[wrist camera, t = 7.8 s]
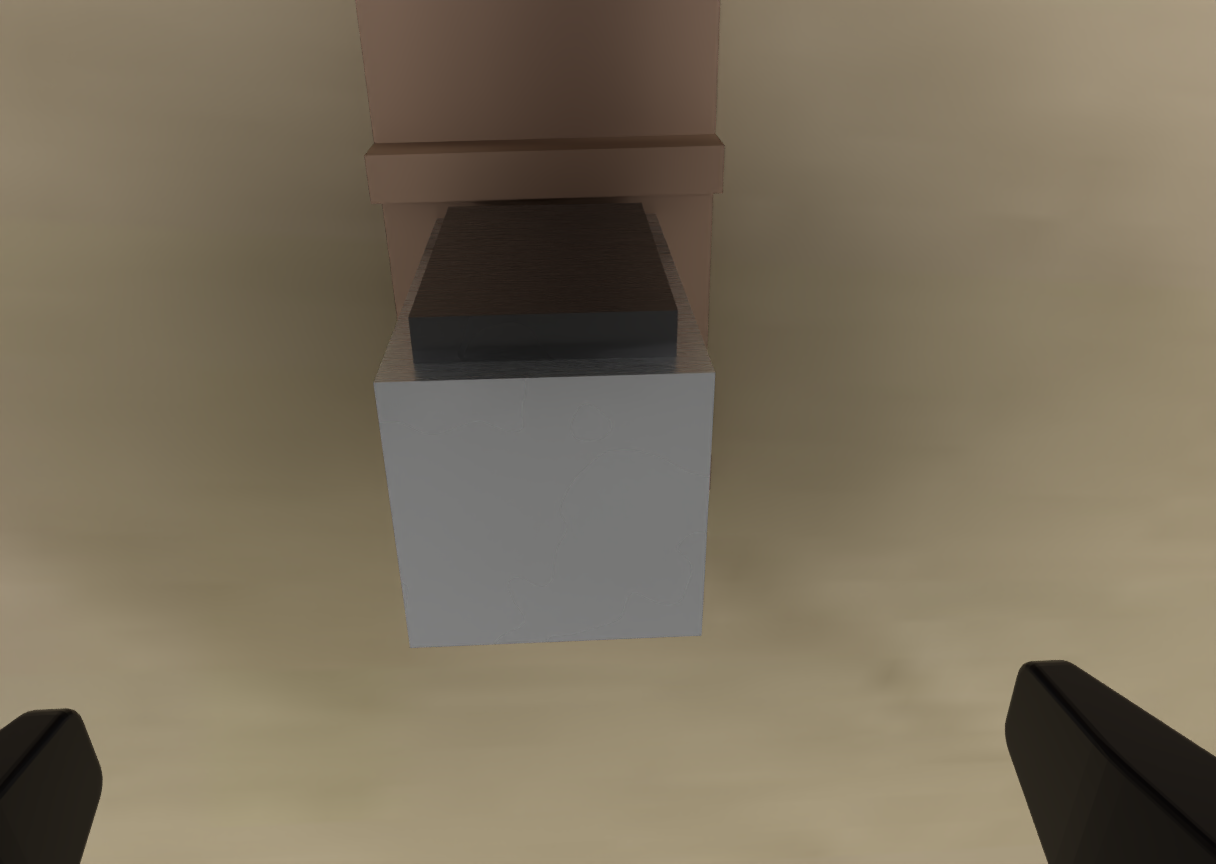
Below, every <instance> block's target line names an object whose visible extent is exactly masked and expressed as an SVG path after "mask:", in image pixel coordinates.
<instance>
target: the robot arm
mask: <svg viewBox="0 0 1216 864" xmlns="http://www.w3.org/2000/svg"><path fill="white" fill-rule="evenodd" d="M1005 737H1006V743H1007V747H1008V750H1009V753H1010V756H1011V759H1012V762H1013V765H1014V767H1015V770H1016V773H1017V776H1018V779H1019V782H1020V785H1021V788H1022V790H1023V793H1024V796H1025V799H1026V802H1027V805H1028V808H1029V810H1030V813H1031V816H1032V819H1033V822H1034V825H1035V828H1036V830H1037V833H1038V836H1039V839H1040V842H1041V845H1042V848H1043V850H1044V853H1045V856H1046V859H1047V862H1048V864H1216V757H1215V756H1214V755H1212V754H1211V753H1209V752H1208V751H1206V750H1205V749H1203V748H1201V747H1200V746H1198V745H1197V744H1195V743H1194V742H1192V741H1191V740H1189V739H1188V738H1186V737H1185V736H1183V735H1182V734H1180V733H1178V732H1177V731H1175V730H1174V729H1172V728H1171V727H1169V726H1168V725H1166V724H1165V723H1163V722H1162V721H1160V720H1159V719H1157V718H1155V717H1154V716H1152V715H1151V714H1149V713H1148V712H1146V711H1145V710H1143V709H1142V708H1140V707H1139V706H1137V705H1136V704H1134V703H1132V702H1131V701H1129V700H1128V699H1126V698H1125V697H1123V696H1122V695H1120V694H1119V693H1117V692H1116V691H1114V690H1113V689H1111V688H1109V687H1108V686H1106V685H1105V684H1103V683H1102V682H1100V681H1099V680H1097V679H1096V678H1094V677H1093V676H1091V675H1090V674H1088V673H1086V672H1085V671H1083V670H1082V669H1080V668H1079V667H1077V666H1076V665H1074V664H1072V663H1070V662H1068V661H1064V660H1048V661H1030V662H1027V663H1025V664H1023V665H1022V667H1021V668H1020V669H1019V672H1018V675H1017V678H1016V682H1015V686H1014V690H1013V694H1012V698H1011V702H1010V706H1009V710H1008V714H1007V718H1006V723H1005ZM102 780H103V778H102V771H101V767H100V764H99V761H98V759H97V756H96V753H95V751H94V748H93V746H92V743H91V740H90V738H89V735H88V733H87V730H86V727H85V725H84V722H83V720H82V718H81V716H80V715H79V714H78V713H77V712H76V711H74V710H72V709H46V710H33V711H29V712H26V713H24V714H22V715H21V716H19V717H18V718H16V719H15V720H13V721H12V722H11V723H9V724H8V725H6V726H5V727H4V728H2V729H1V730H0V864H80V862H81V859H82V856H83V852H84V849H85V846H86V843H87V839H88V836H89V833H90V829H91V826H92V823H93V820H94V816H95V813H96V810H97V806H98V803H99V800H100V796H101V792H102Z"/></svg>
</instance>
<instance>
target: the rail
mask: <svg viewBox="0 0 1216 864" xmlns="http://www.w3.org/2000/svg"><path fill="white" fill-rule="evenodd" d="M355 2H356V9H357V17H358V24H359V32H360V40H361V47H362V55H363V62H364V70H365V78H366V85H367V93H368V100H369V108H370V116H371V123H372V131H373V138H374V144H373V145H372V147H371V148H370V149H369V150H368V152H367V153H366V154H365V155H364V158H365V165H366V172H367V180H368V187H369V194H370V201H371V204H382V207H383V214H384V222H385V230H386V237H387V245H388V252H389V260H390V268H391V275H392V283H393V290H394V298H395V306H396V313H397V320H398V318H399V315H400V312H401V310H402V307H403V305H404V302H405V300H406V297H407V294H408V292H409V289H410V287H411V284H412V281H413V279H414V276H415V274H416V271H417V269H418V266H419V263H420V261H421V258H422V256H423V253H424V250H425V248H426V245H427V243H428V240H429V237H430V235H431V232H432V230H433V227H434V225H435V222H436V219H437V218H444V217H445V214H446V212H447V209H448V207H456V206H504V205H552V204H600V203H642V205H643V208H644V211H645V214H656V216H657V218H658V221H659V224H660V226H661V229H662V232H663V234H664V237H665V240H666V242H667V245H668V248H669V250H670V253H671V256H672V258H673V261H674V264H675V266H676V269H677V272H678V274H679V277H680V280H681V282H682V285H683V288H684V290H685V293H686V296H687V298H688V301H689V304H690V306H691V309H692V312H693V314H694V317H695V320H696V322H697V325H698V328H699V330H700V333H701V336H702V338H703V341H704V344H705V346H706V349H707V343H708V316H709V290H710V263H711V236H712V209H713V193H723V172H724V149H725V145H724V144H723V143H722V142H721V140H720V139H719V138H718V137H717V135H716V134H715V129H716V102H717V75H718V49H719V22H720V0H355ZM711 457H712V455H711ZM710 481H711V464H710ZM709 490H710V483H709Z"/></svg>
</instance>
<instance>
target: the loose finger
mask: <svg viewBox="0 0 1216 864" xmlns="http://www.w3.org/2000/svg"><path fill="white" fill-rule="evenodd" d="M373 383H374V391H375V398H376V405H377V412H378V419H379V427H380V434H381V441H382V448H383V455H384V463H385V470H386V477H387V484H388V491H389V499H390V506H391V513H392V520H393V527H394V535H395V542H396V549H397V556H398V564H399V571H400V578H401V585H402V592H403V600H404V607H405V614H406V621H407V628H408V636H409V643H410V648H418V647H442V646H466V645H489V644H513V643H537V642H560V641H584V640H608V639H631V638H655V637H678V636H701V634H702V616H703V597H704V578H705V559H706V540H707V521H708V502H709V483H710V464H711V446H712V427H713V408H714V389H715V370H714V368H713V365H712V362H711V360H710V357H709V354H708V352H707V349H706V346H705V344H704V341H703V338H702V336H701V333H700V330H699V328H698V325H697V322H696V320H695V317H694V314H693V312H692V309H691V306H690V304H689V301H688V298H687V296H686V293H685V290H684V288H683V285H682V282H681V280H680V277H679V274H678V272H677V269H676V266H675V264H674V261H673V258H672V256H671V253H670V250H669V248H668V245H667V242H666V240H665V237H664V234H663V232H662V229H661V226H660V224H659V221H658V218H657V216H656V214H645V211H644V208H643V205H642V203H600V204H552V205H504V206H456V207H448V209H447V212H446V214H445V217H444V218H437V219H436V222H435V225H434V227H433V230H432V232H431V235H430V237H429V240H428V243H427V245H426V248H425V250H424V253H423V256H422V258H421V261H420V263H419V266H418V269H417V271H416V274H415V276H414V279H413V281H412V284H411V287H410V289H409V292H408V294H407V297H406V300H405V302H404V305H403V307H402V310H401V312H400V315H399V318H398V320H397V323H396V325H395V328H394V331H393V333H392V336H391V338H390V341H389V343H388V346H387V349H386V351H385V354H384V356H383V359H382V362H381V364H380V367H379V369H378V372H377V375H376V377H375V380H374V382H373Z"/></svg>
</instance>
